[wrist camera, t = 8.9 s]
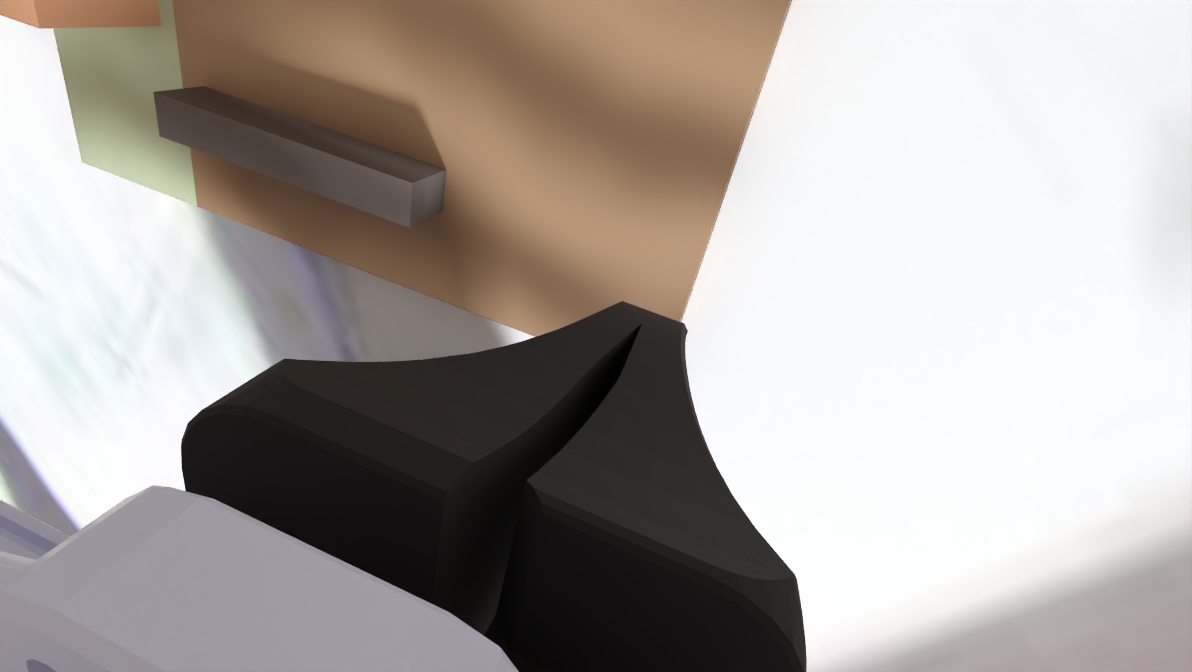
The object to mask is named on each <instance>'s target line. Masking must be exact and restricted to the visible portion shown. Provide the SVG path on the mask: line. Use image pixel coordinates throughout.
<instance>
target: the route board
mask: <svg viewBox="0 0 1192 672" xmlns="http://www.w3.org/2000/svg"><path fill="white" fill-rule="evenodd" d="M791 2H792V0H158V7H159V15H160V22H161V26H144V27H87V28H53V29H54V33H55V38H56V43H57V47H58V52H59V57H60V61H61V66H62V71H63V75H64V80H65V85H66V89H67V94H68V99H69V103H70V108H71V113H72V117H73V122H74V127H75V131H76V136H77V141H78V145H79V150H80V155H81V159H82V162H83V163H86V164H88V165H91V166H93V167H96V168H99V169H101V170H104V171H106V172H109V173H112V174H114V175H117V176H119V177H122V178H125V179H127V180H130V181H132V182H135V183H138V184H140V185H143V186H145V187H148V188H151V189H153V190H156V191H158V192H161V193H163V194H166V195H169V196H171V197H174V198H176V199H179V200H182V201H184V202H187V203H189V204H192V205H195V206H197V207H200V208H202V209H205V210H208V211H210V212H213V213H215V214H218V215H221V216H223V217H226V218H228V219H231V220H234V221H236V222H239V223H241V224H244V225H247V226H249V227H252V228H254V229H257V230H260V231H262V232H265V233H267V234H270V235H272V236H275V237H278V238H280V239H283V240H285V241H288V242H291V243H293V244H296V245H298V246H301V247H304V248H306V249H309V250H311V251H314V252H317V253H319V254H322V255H324V256H327V257H330V258H332V259H335V260H337V261H340V262H343V263H345V264H348V265H350V266H353V267H356V268H358V269H361V270H363V271H366V272H369V273H371V274H374V275H376V276H379V277H381V278H384V279H387V280H389V281H392V282H394V283H397V284H400V285H402V286H405V287H407V288H410V289H413V290H415V291H418V292H420V293H423V294H426V295H428V296H431V297H433V298H436V299H439V300H441V301H444V302H446V303H449V304H452V305H454V306H457V307H459V308H462V309H465V310H467V311H470V312H472V313H475V314H478V315H480V316H483V317H485V318H488V319H490V320H493V321H496V322H498V323H501V324H503V325H506V326H509V327H511V328H514V329H516V330H519V331H522V332H524V333H527V334H529V335H532V336H535V337H537V336H540V335H543V334H546V333H548V332H551V331H554V330H557V329H560V328H562V327H565V326H567V325H569V324H572V323H574V322H577V321H579V320H581V319H583V318H586V317H588V316H590V315H592V314H594V313H597V312H599V311H601V310H603V309H605V308H607V307H610V306H612V305H614V304H616V303H619V302H621V301H624V302H627V303H629V304H632V305H635V306H638V307H640V308H643V309H646V310H649V311H651V312H654V313H657V314H659V315H662V316H665V317H668V318H670V319H673V320H676V321H679V322H681V321H682V318H683V315H684V312H685V309H686V306H687V303H688V300H689V297H690V295H691V292H692V289H693V286H694V283H695V280H696V277H697V274H698V271H699V268H700V266H701V263H702V260H703V257H704V254H705V251H706V248H707V245H708V242H709V239H710V237H711V234H712V231H713V228H714V225H715V222H716V219H717V216H718V213H719V210H720V208H721V205H722V202H723V199H724V196H725V193H726V190H727V187H728V184H729V181H730V179H731V176H732V173H733V170H734V167H735V164H736V161H737V158H738V155H739V152H740V150H741V147H742V144H743V141H744V138H745V135H746V132H747V129H748V126H749V123H750V121H751V118H752V115H753V112H754V109H755V106H756V103H757V100H758V97H759V94H760V92H761V89H762V86H763V83H764V80H765V77H766V74H767V71H768V68H769V65H770V63H771V60H772V57H773V54H774V51H775V48H776V45H777V42H778V39H779V36H780V34H781V31H782V28H783V25H784V22H785V19H786V16H787V13H788V10H789V7H790V5H791Z"/></svg>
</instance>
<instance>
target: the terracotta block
mask: <svg viewBox="0 0 1192 672" xmlns="http://www.w3.org/2000/svg"><path fill="white" fill-rule="evenodd" d="M0 15H2V16H5V17H8V18H11V19H14V20H17V21H20V22H23V23H25V24H28V25H31V26H34V27H37V28H87V27H144V26H161V22H160V15H159V7H158V0H0Z"/></svg>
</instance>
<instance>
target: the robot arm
mask: <svg viewBox="0 0 1192 672" xmlns="http://www.w3.org/2000/svg"><path fill="white" fill-rule="evenodd" d="M687 332H688V331H687V329H686V326H685V324H684V323H681V322H679V321H676V320H673V319H670V318H668V317H665V316H662V315H659V314H657V313H654V312H651V311H649V310H646V309H643V308H640V307H638V306H635V305H632V304H629V303H627V302H624V301H621V302H619V303H616V304H614V305H612V306H610V307H607V308H605V309H603V310H601V311H599V312H597V313H594V314H592V315H590V316H588V317H586V318H583V319H581V320H579V321H577V322H574V323H572V324H569V325H567V326H565V327H562V328H560V329H557V330H554V331H551V332H548V333H546V334H543V335H540V336H537V337H534V338H531V339H528V340H526V341H522V342H519V343H515V344H511V345H508V346H504V347H499V348H495V349H490V350H486V351H481V352H476V353H471V354H463V355H456V356H448V357H441V358H433V359H425V360H411V361H395V362H337V361H314V360H295V359H283V360H282V361H280V362H278V363H276V364H275V365H273V366H272V367H270V368H268V369H267V370H265V371H264V372H262V373H260V374H259V375H257V376H256V377H254V378H252V379H251V380H249V381H248V382H246V383H244V384H243V385H241V386H240V387H238V388H237V389H235V390H233V391H232V392H230V393H229V394H227V395H225V396H224V397H222V398H221V399H219V400H217V401H216V402H214V403H213V404H211V405H209V406H208V407H206V408H205V409H203V410H201V411H200V412H199V413H198V414H197V415H196V416H195V417H194V418H193V419H192V420H191V421H190V422H189V423H188V424H187V427H186V430H185V433H184V436H183V438H182V444H181V456H182V472H183V477H184V483H185V489H186V491H182V490H178V489H175V488H171V487H162V486H151V487H149V488H147V489H145V490H143V491H141V492H139V493H137V494H135V495H132V496H130V497H128V498H126V499H125V500H123V501H122V502H120V503H119V504H117V505H116V506H114V507H113V508H111V509H110V510H109V511H107V512H106V513H104V514H103V515H101V516H100V517H98V518H97V519H95V520H94V521H93V522H91V523H90V524H88V525H87V526H85V527H84V528H82V529H81V530H79V531H78V532H76V533H75V534H74V535H72V536H69V535H67V534H65V533H63V532H62V531H60V530H58V529H56V528H54V527H52V526H50V525H48V524H46V523H44V522H42V521H40V520H38V519H36V518H35V517H33V516H31V515H29V514H27V513H25V512H23V511H21V510H19V509H17V508H15V507H13V506H11V505H9V504H8V503H6V502H4V501H2V500H0V672H806V645H805V635H804V625H803V616H802V609H801V603H800V596H799V590H798V584H797V579H796V577H795V574H794V573H793V572H792V571H791V570H790V569H789V567H788V566H787V565H786V564H785V563H784V561H783V560H782V559H781V558H780V557H779V556H778V554H777V553H776V552H775V551H774V550H773V548H772V547H771V546H770V545H769V544H768V543H767V541H766V540H765V539H764V538H763V537H762V536H761V534H760V533H759V532H758V531H757V529H756V528H755V527H754V525H753V524H752V523H751V521H750V520H749V518H748V517H747V516H746V514H745V513H744V511H743V510H742V508H741V507H740V506H739V504H738V503H737V501H736V500H735V498H734V497H733V495H732V493H731V492H730V490H729V488H728V486H727V485H726V483H725V481H724V479H723V478H722V476H721V474H720V472H719V470H718V469H717V467H716V465H715V462H714V460H713V458H712V456H711V454H710V452H709V449H708V447H707V444H706V442H705V439H704V437H703V434H702V431H701V428H700V425H699V422H698V419H697V416H696V413H695V409H694V405H693V401H692V397H691V392H690V388H689V382H688V375H687V369H686V359H685V339H686V335H687Z"/></svg>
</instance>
